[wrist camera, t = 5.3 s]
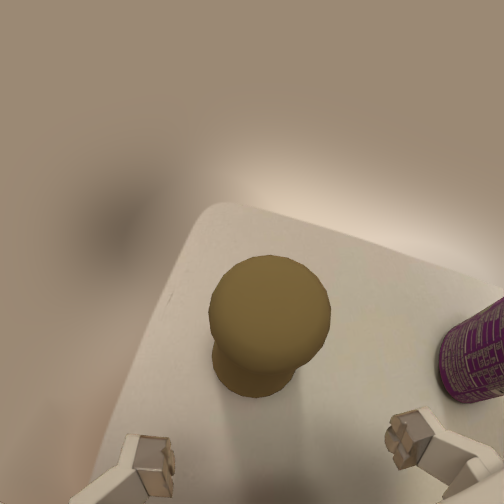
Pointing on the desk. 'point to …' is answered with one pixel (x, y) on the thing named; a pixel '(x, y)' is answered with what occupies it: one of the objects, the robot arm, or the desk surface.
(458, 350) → the beverage can
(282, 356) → the cork
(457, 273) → the desk surface
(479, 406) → the desk surface
